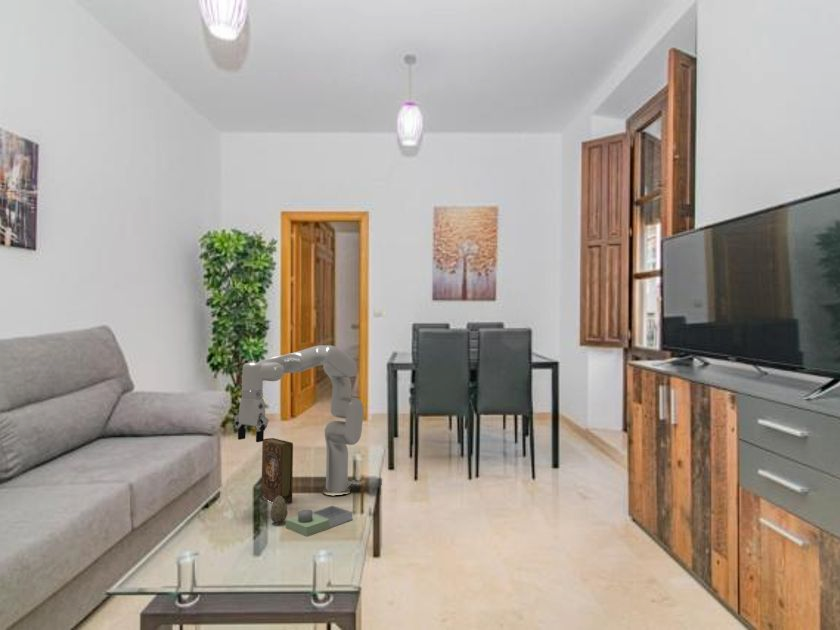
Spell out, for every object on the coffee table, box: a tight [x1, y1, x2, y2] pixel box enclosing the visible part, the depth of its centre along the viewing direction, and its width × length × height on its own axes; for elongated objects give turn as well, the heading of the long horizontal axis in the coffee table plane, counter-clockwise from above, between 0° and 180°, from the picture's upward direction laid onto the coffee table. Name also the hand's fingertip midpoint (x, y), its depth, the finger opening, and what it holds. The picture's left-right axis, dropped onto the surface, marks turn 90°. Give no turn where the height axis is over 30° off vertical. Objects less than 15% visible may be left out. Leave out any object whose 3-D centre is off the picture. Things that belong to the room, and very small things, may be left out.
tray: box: [312, 505, 353, 529], centre depth 193 cm, size 11×11×3 cm
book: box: [260, 437, 294, 504], centre depth 217 cm, size 16×6×25 cm, turn 47°
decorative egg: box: [270, 496, 288, 525], centre depth 189 cm, size 6×6×10 cm
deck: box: [285, 509, 330, 537], centre depth 185 cm, size 10×12×6 cm
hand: (250, 440), depth 195 cm, fingers open, 9 cm apart
